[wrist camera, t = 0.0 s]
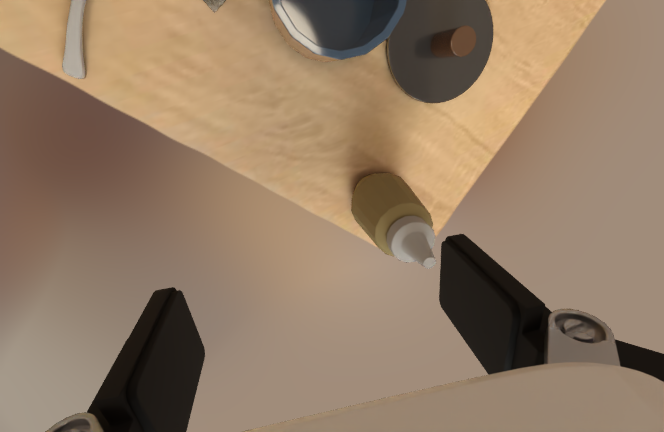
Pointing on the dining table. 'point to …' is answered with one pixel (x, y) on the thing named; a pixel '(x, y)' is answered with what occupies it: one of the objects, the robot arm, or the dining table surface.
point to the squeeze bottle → (394, 218)
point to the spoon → (74, 41)
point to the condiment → (214, 4)
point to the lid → (440, 47)
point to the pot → (335, 25)
